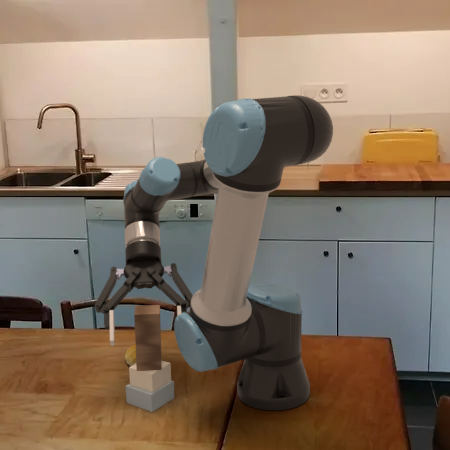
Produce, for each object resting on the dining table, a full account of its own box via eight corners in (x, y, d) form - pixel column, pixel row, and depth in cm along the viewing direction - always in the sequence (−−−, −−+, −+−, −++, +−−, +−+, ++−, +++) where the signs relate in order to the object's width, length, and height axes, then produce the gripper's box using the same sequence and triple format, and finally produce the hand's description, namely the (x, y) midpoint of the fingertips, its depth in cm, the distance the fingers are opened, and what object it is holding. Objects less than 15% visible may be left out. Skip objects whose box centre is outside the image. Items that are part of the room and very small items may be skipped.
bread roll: (157, 351, 169) (157, 335, 168) (163, 366, 161) (162, 350, 160) (123, 355, 168) (122, 339, 167) (127, 371, 159) (126, 355, 158)
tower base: (174, 398, 146) (173, 381, 145) (152, 413, 141) (151, 395, 140) (149, 389, 150) (148, 372, 149) (126, 403, 145) (125, 385, 144)
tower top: (171, 380, 146) (170, 363, 145) (152, 392, 141) (151, 374, 140) (149, 373, 149) (148, 356, 148) (130, 385, 144) (129, 367, 143)
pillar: (161, 359, 147) (159, 304, 144) (161, 369, 142) (159, 313, 139) (137, 360, 146) (135, 305, 143) (136, 370, 141) (134, 314, 138)
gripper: (200, 252, 155) (208, 343, 144) (86, 258, 153) (85, 351, 142) (201, 235, 149) (209, 329, 138) (81, 242, 146) (81, 338, 136)
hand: (146, 340), depth 140 cm, fingers open, 13 cm apart
